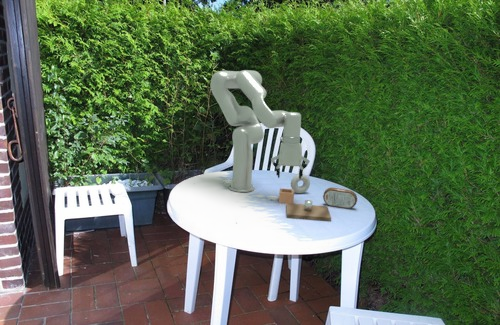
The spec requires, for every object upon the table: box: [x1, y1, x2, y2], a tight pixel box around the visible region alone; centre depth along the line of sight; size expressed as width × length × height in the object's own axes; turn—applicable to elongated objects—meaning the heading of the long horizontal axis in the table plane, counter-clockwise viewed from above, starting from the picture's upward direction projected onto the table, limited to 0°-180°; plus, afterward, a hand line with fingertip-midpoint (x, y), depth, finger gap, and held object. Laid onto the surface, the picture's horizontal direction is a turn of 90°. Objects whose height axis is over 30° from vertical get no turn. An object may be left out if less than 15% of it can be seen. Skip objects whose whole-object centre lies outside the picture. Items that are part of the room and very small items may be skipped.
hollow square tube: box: [278, 187, 295, 204], centre depth 180 cm, size 6×6×5 cm
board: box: [285, 203, 332, 222], centre depth 166 cm, size 18×14×2 cm
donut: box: [290, 173, 311, 194], centre depth 192 cm, size 10×4×10 cm, turn 104°
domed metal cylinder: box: [304, 199, 313, 212], centre depth 165 cm, size 3×3×4 cm
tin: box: [322, 186, 358, 210], centre depth 176 cm, size 15×3×8 cm, turn 71°
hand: (289, 177), depth 177 cm, fingers open, 9 cm apart
